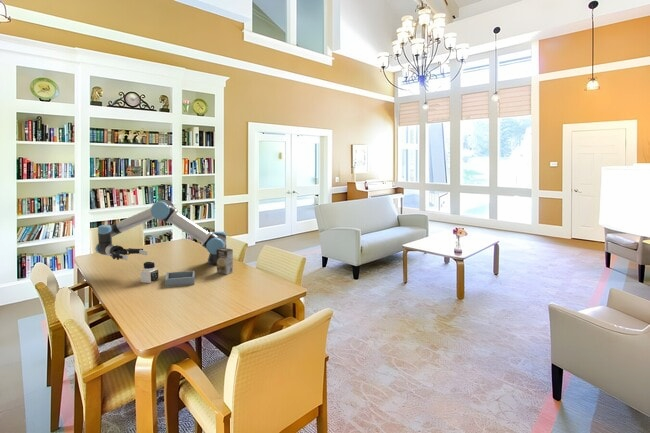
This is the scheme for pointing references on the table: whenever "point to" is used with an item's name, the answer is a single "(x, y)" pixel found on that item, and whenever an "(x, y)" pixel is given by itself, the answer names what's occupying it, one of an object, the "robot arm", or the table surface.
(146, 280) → the medicine bottle
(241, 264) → the table surface
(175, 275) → the tote
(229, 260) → the coffee box
